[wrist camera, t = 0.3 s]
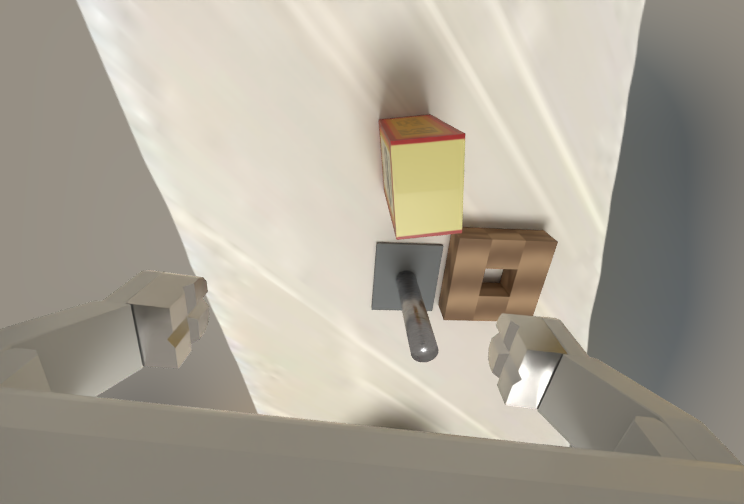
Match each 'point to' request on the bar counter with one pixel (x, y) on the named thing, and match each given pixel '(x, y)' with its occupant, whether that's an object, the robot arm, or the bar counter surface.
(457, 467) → the robot arm
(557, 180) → the bar counter surface
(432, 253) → the mat
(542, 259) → the hole block
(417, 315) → the pin
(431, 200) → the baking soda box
